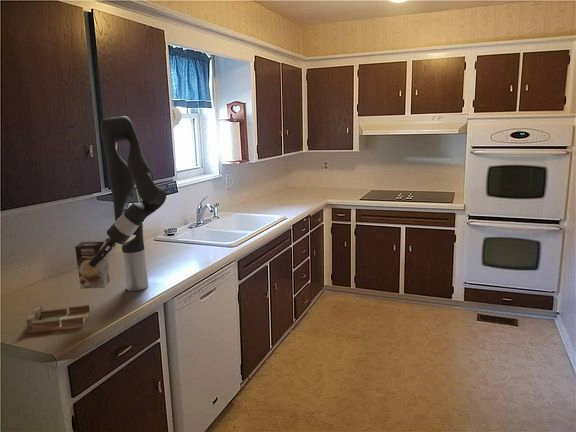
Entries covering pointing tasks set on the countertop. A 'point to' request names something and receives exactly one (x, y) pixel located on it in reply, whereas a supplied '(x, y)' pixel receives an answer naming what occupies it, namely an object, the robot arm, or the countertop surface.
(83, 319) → the wooden tray
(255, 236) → the countertop surface
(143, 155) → the robot arm
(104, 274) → the coffee box
